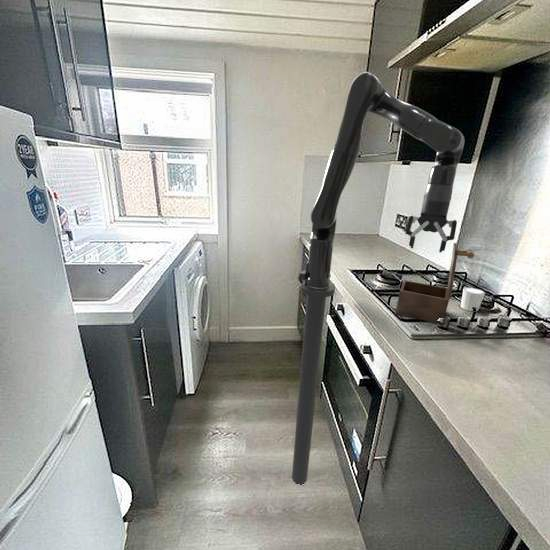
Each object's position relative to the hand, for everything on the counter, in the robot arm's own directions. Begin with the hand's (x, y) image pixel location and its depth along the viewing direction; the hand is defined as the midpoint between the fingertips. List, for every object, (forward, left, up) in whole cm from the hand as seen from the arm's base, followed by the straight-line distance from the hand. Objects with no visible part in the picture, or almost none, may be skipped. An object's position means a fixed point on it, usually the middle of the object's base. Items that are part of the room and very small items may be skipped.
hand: (425, 249), depth 99 cm
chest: (+2, +1, -23) cm, 23 cm away
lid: (+9, +1, -6) cm, 10 cm away
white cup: (+18, +16, -23) cm, 33 cm away
